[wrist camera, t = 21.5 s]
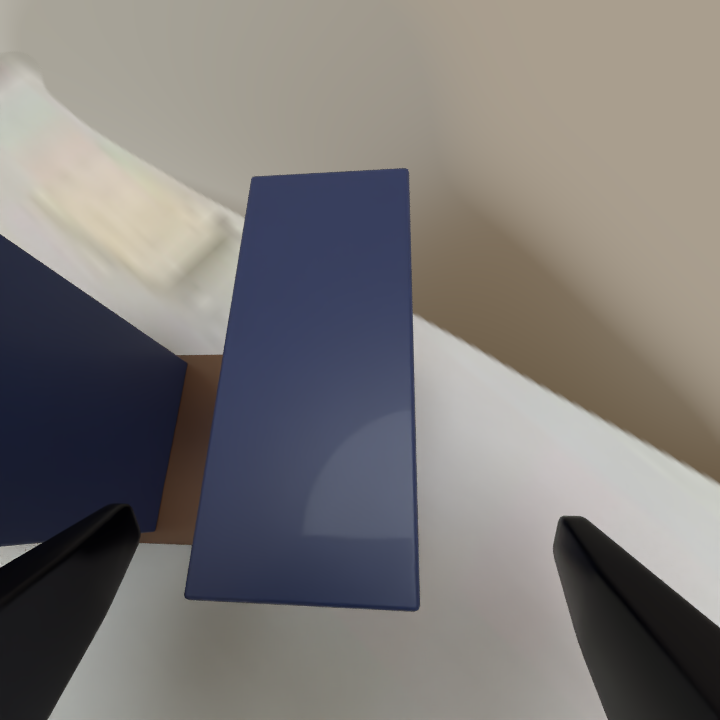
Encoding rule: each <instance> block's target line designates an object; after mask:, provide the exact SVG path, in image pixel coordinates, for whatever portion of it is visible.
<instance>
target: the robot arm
mask: <svg viewBox="0 0 720 720" xmlns="http://www.w3.org/2000/svg"><path fill="white" fill-rule="evenodd" d="M140 538H141V530H140V527H139V524H138V522H137V519H136V516H135V514H134V511H133V508H132V507H131V506H130V505H129V504H124V503H111V504H108V505H106V506H104V507H102V508H101V509H99V510H97V511H96V512H94V513H92V514H91V515H89V516H87V517H86V518H84V519H82V520H80V521H79V522H77V523H75V524H74V525H72V526H70V527H69V528H67V529H65V530H63V531H62V532H60V533H58V534H57V535H55V536H53V537H52V538H50V539H48V540H47V541H45V542H43V543H41V544H40V545H38V546H36V547H35V548H33V549H31V550H30V551H28V552H26V553H25V554H23V555H21V556H19V557H18V558H16V559H14V560H13V561H11V562H9V563H8V564H6V565H4V566H3V567H1V568H0V720H48V718H49V716H50V714H51V713H52V711H53V709H54V707H55V705H56V704H57V702H58V700H59V698H60V696H61V695H62V693H63V691H64V689H65V688H66V686H67V684H68V682H69V680H70V679H71V677H72V675H73V673H74V672H75V670H76V668H77V666H78V664H79V663H80V661H81V659H82V657H83V656H84V654H85V652H86V650H87V648H88V647H89V645H90V643H91V641H92V640H93V638H94V636H95V634H96V632H97V631H98V629H99V627H100V625H101V623H102V621H103V620H104V618H105V616H106V614H107V612H108V610H109V608H110V606H111V604H112V601H113V599H114V597H115V595H116V593H117V590H118V588H119V586H120V584H121V582H122V579H123V577H124V575H125V573H126V571H127V568H128V566H129V564H130V562H131V560H132V558H133V555H134V553H135V551H136V549H137V547H138V544H139V542H140ZM553 554H554V559H555V563H556V566H557V570H558V573H559V577H560V580H561V584H562V587H563V591H564V595H565V598H566V602H567V605H568V609H569V612H570V616H571V619H572V623H573V627H574V630H575V633H576V636H577V640H578V643H579V646H580V648H581V651H582V654H583V657H584V659H585V662H586V665H587V667H588V670H589V672H590V675H591V677H592V680H593V682H594V685H595V688H596V690H597V693H598V695H599V698H600V700H601V703H602V706H603V708H604V711H605V713H606V716H607V718H608V720H720V628H719V627H718V626H717V625H716V624H714V623H713V622H712V621H711V620H710V619H708V618H707V617H706V616H705V615H703V614H702V613H701V612H700V611H699V610H697V609H696V608H695V607H694V606H692V605H691V604H690V603H689V602H688V601H686V600H685V599H684V598H683V597H681V596H680V595H679V594H678V593H676V592H675V591H674V590H673V589H672V588H670V587H669V586H668V585H667V584H665V583H664V582H663V581H662V580H661V579H659V578H658V577H657V576H656V575H654V574H653V573H652V572H651V571H650V570H648V569H647V568H646V567H645V566H643V565H642V564H641V563H640V562H639V561H637V560H636V559H635V558H634V557H632V556H631V555H630V554H629V553H628V552H626V551H625V550H624V549H623V548H621V547H620V546H619V545H618V544H617V543H615V542H614V541H613V540H612V539H610V538H609V537H608V536H607V535H606V534H604V533H603V532H602V531H601V530H599V529H598V528H597V527H596V526H595V525H593V524H592V523H591V522H590V521H588V520H587V519H586V518H584V517H581V516H562V517H560V519H559V521H558V525H557V530H556V534H555V539H554V544H553Z"/></svg>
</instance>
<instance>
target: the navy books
mask: <svg viewBox="0 0 720 720" xmlns="http://www.w3.org/2000/svg"><path fill="white" fill-rule="evenodd" d="M186 369H187V362H185V361H184V360H182V359H181V358H179V357H178V356H176V355H175V354H173V353H172V352H171V351H169V350H168V349H166V348H165V347H163V346H162V345H160V344H159V343H157V342H156V341H155V340H153V339H152V338H150V337H149V336H147V335H146V334H144V333H143V332H141V331H140V330H139V329H137V328H136V327H134V326H133V325H131V324H130V323H128V322H127V321H126V320H124V319H123V318H121V317H120V316H118V315H117V314H115V313H114V312H112V311H111V310H110V309H108V308H107V307H105V306H104V305H102V304H101V303H99V302H98V301H96V300H95V299H94V298H92V297H91V296H89V295H88V294H86V293H85V292H83V291H82V290H80V289H79V288H78V287H76V286H75V285H73V284H72V283H70V282H69V281H67V280H66V279H65V278H63V277H62V276H60V275H59V274H57V273H56V272H54V271H53V270H51V269H50V268H49V267H47V266H46V265H44V264H43V263H41V262H40V261H38V260H37V259H35V258H34V257H33V256H31V255H30V254H28V253H27V252H25V251H24V250H22V249H21V248H19V247H18V246H17V245H15V244H14V243H12V242H11V241H9V240H8V239H6V238H5V237H4V236H2V235H1V234H0V547H1V546H12V545H22V544H33V543H43V542H45V541H47V540H48V539H50V538H52V537H53V536H55V535H57V534H58V533H60V532H62V531H63V530H65V529H67V528H69V527H70V526H72V525H74V524H75V523H77V522H79V521H80V520H82V519H84V518H86V517H87V516H89V515H91V514H92V513H94V512H96V511H97V510H99V509H101V508H102V507H104V506H106V505H108V504H111V503H124V504H129V505H130V506H131V507H132V508H133V511H134V514H135V516H136V519H137V522H138V524H139V527H140V530H141V533H147V532H154V531H155V529H156V524H157V519H158V513H159V508H160V503H161V498H162V493H163V488H164V483H165V477H166V472H167V467H168V462H169V457H170V452H171V447H172V441H173V436H174V431H175V426H176V421H177V416H178V411H179V405H180V400H181V395H182V390H183V385H184V380H185V375H186Z"/></svg>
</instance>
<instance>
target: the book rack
mask: <svg viewBox="0 0 720 720" xmlns="http://www.w3.org/2000/svg"><path fill="white" fill-rule="evenodd" d="M176 356H178V357H179V358H181V359H182V360H184V361H185V362H187V369H186V375H185V380H184V385H183V390H182V395H181V400H180V405H179V411H178V416H177V421H176V426H175V431H174V436H173V441H172V447H171V452H170V457H169V462H168V467H167V472H166V477H165V483H164V488H163V493H162V498H161V503H160V508H159V513H158V519H157V524H156V529H155V531H154V532H147V533H141V538H140V542H139V543H152V544H179V545H192V543H193V537H194V531H195V525H196V519H197V513H198V506H199V500H200V494H201V488H202V482H203V475H204V469H205V463H206V457H207V451H208V444H209V438H210V432H211V426H212V420H213V413H214V407H215V401H216V395H217V389H218V383H219V376H220V370H221V364H222V358H223V355H176Z"/></svg>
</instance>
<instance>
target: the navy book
mask: <svg viewBox="0 0 720 720" xmlns="http://www.w3.org/2000/svg"><path fill="white" fill-rule="evenodd" d="M409 195H410V193H409V171H408V169H406V168H399V169H381V170H363V171H346V172H327V173H309V174H293V175H292V174H291V175H273V176H255V177H252V179H251V184H250V191H249V197H248V203H247V210H246V215H245V222H244V228H243V234H242V240H241V246H240V253H239V259H238V265H237V271H236V277H235V284H234V290H233V296H232V302H231V308H230V314H229V321H228V327H227V333H226V339H225V345H224V352H223V358H222V364H221V370H220V376H219V383H218V389H217V395H216V401H215V407H214V413H213V420H212V426H211V432H210V438H209V444H208V451H207V457H206V463H205V469H204V475H203V482H202V488H201V494H200V500H199V506H198V513H197V519H196V525H195V531H194V537H193V543H192V550H191V556H190V562H189V568H188V574H187V581H186V587H185V593H184V596H185V598H186V599H188V600H198V601H218V602H237V603H256V604H275V605H295V606H314V607H333V608H353V609H372V610H391V611H411V612H415V611H417V610H419V607H420V583H419V544H418V505H417V466H416V427H415V388H414V349H413V310H412V271H411V232H410V196H409Z"/></svg>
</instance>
